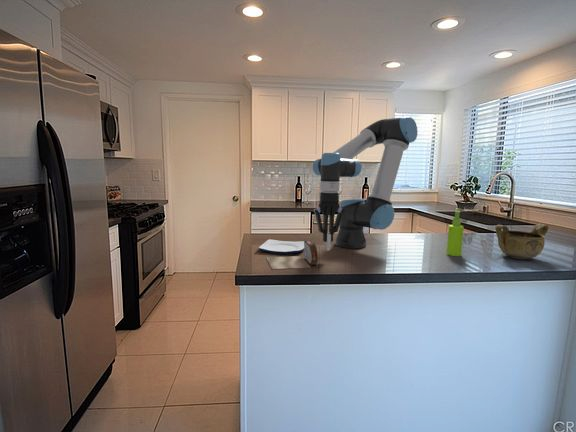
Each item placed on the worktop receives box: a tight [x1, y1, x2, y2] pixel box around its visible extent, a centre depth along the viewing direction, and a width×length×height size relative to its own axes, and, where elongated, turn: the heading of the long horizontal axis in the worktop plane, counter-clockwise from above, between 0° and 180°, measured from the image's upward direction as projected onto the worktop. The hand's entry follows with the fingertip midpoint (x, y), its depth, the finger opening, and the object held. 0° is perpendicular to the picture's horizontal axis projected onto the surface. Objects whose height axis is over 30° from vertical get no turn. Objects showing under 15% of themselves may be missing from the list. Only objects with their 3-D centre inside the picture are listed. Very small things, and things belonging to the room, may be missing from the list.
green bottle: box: [446, 209, 465, 257], centre depth 150 cm, size 6×7×20 cm
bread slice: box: [303, 239, 319, 266], centre depth 136 cm, size 15×3×8 cm, turn 9°
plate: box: [258, 239, 305, 255], centre depth 156 cm, size 20×20×3 cm
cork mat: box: [265, 255, 312, 271], centre depth 135 cm, size 15×16×1 cm
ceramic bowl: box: [494, 223, 549, 260], centre depth 146 cm, size 22×17×15 cm
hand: (327, 249), depth 137 cm, fingers closed
